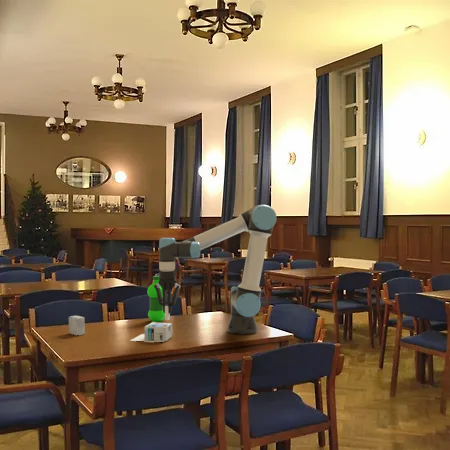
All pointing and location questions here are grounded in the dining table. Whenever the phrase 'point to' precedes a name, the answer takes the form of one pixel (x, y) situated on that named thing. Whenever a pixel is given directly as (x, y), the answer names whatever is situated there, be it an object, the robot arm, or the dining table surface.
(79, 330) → the medicine box
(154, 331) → the light bulb box
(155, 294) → the plastic bottle
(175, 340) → the dining table surface
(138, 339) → the mat
